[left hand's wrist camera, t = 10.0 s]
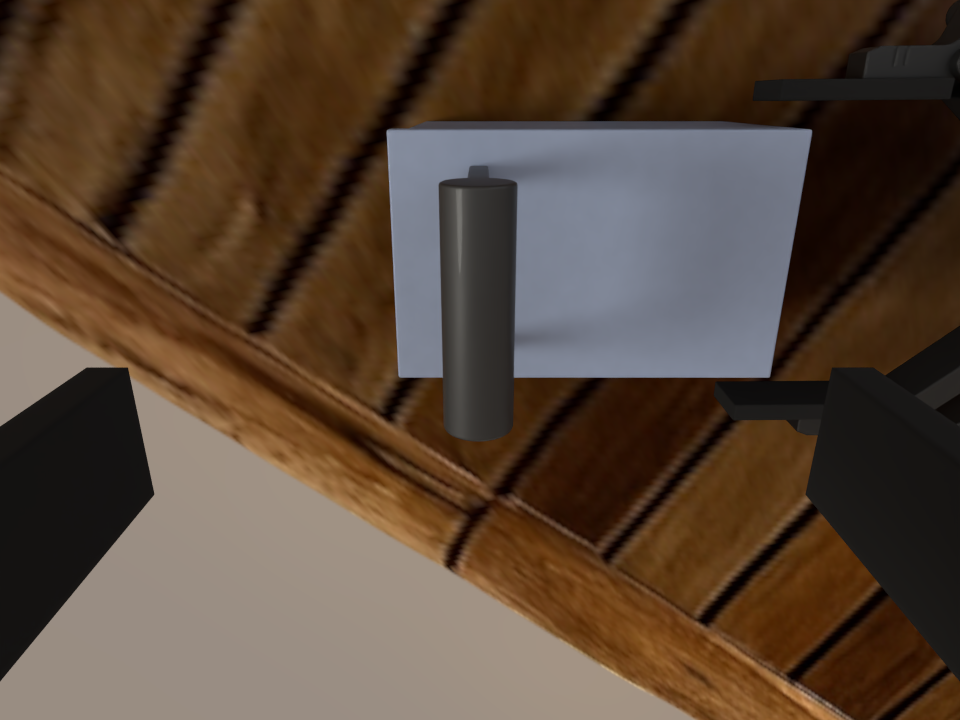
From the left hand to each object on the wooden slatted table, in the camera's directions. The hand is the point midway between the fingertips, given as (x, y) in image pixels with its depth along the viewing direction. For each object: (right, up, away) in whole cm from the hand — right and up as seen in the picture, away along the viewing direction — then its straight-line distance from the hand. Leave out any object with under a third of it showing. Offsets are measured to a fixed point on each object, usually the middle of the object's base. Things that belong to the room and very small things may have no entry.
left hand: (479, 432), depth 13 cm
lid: (+4, +5, +14) cm, 15 cm away
